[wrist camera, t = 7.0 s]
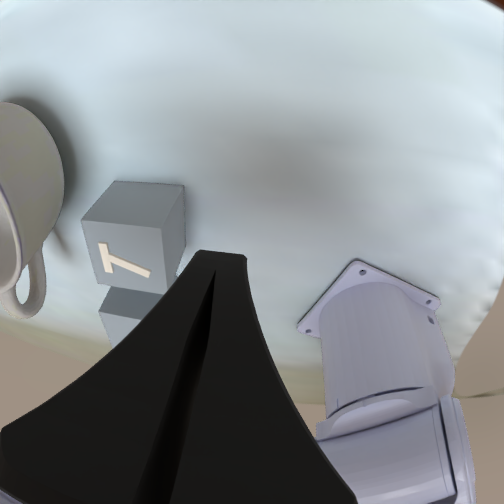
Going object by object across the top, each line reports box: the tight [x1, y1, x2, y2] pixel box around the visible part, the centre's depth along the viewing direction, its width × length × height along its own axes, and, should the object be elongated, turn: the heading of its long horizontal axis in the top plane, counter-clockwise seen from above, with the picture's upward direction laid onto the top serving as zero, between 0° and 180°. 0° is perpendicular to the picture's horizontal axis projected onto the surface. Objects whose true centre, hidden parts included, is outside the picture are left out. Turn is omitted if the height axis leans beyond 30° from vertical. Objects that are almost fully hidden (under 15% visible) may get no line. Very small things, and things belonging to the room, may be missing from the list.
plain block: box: [98, 276, 178, 348], centre depth 22 cm, size 4×4×4 cm
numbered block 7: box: [81, 181, 186, 294], centre depth 17 cm, size 4×4×5 cm
